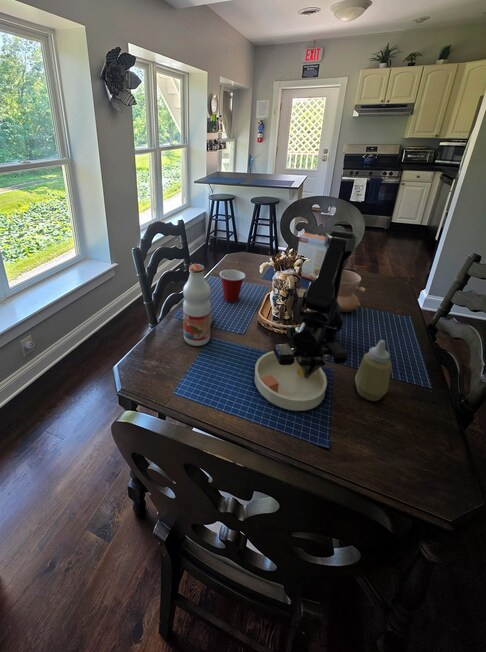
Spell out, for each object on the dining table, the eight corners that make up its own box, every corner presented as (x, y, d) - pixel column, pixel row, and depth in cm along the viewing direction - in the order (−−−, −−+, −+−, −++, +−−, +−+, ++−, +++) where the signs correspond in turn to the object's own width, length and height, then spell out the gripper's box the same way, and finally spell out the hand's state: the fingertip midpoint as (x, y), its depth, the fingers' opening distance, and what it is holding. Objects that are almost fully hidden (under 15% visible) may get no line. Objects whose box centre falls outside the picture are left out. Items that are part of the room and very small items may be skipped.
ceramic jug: (366, 306, 131) (373, 275, 125) (353, 321, 121) (360, 288, 116) (322, 291, 142) (327, 262, 137) (307, 304, 133) (312, 273, 127)
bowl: (308, 358, 103) (309, 348, 101) (337, 410, 85) (340, 398, 83) (247, 361, 102) (248, 351, 101) (264, 414, 84) (265, 402, 82)
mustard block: (300, 367, 98) (303, 358, 97) (311, 374, 96) (315, 364, 95) (296, 373, 95) (300, 363, 94) (308, 379, 93) (311, 370, 92)
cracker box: (327, 279, 153) (334, 238, 145) (322, 283, 149) (329, 241, 141) (299, 270, 162) (305, 231, 154) (294, 274, 158) (299, 234, 150)
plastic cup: (248, 296, 140) (249, 271, 135) (237, 307, 131) (239, 281, 127) (225, 290, 145) (226, 266, 141) (214, 300, 137) (214, 275, 132)
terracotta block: (270, 383, 93) (271, 374, 92) (277, 392, 90) (278, 383, 89) (260, 387, 92) (260, 378, 90) (267, 396, 89) (268, 386, 87)
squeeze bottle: (384, 409, 85) (400, 355, 78) (350, 397, 89) (363, 344, 82) (385, 389, 91) (401, 337, 84) (354, 378, 95) (366, 328, 88)
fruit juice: (215, 340, 112) (217, 268, 101) (193, 350, 108) (192, 275, 97) (200, 327, 120) (200, 258, 109) (178, 335, 115) (176, 265, 104)
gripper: (333, 314, 94) (324, 357, 100) (270, 316, 93) (265, 359, 99) (353, 337, 84) (342, 384, 90) (283, 339, 83) (276, 386, 89)
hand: (305, 377), depth 92 cm, fingers closed
